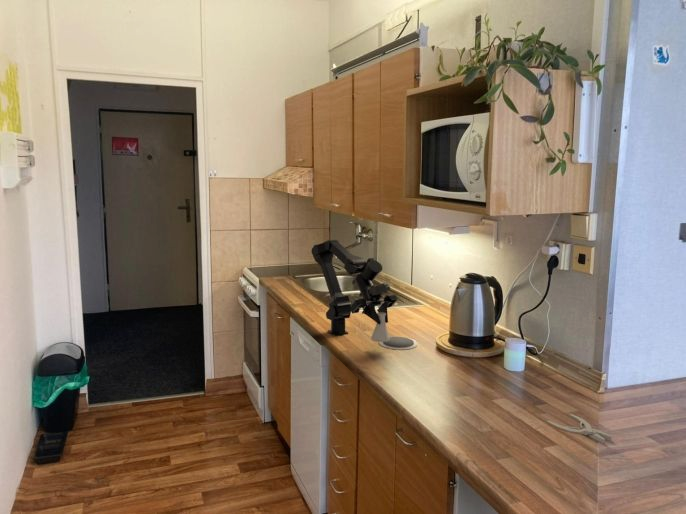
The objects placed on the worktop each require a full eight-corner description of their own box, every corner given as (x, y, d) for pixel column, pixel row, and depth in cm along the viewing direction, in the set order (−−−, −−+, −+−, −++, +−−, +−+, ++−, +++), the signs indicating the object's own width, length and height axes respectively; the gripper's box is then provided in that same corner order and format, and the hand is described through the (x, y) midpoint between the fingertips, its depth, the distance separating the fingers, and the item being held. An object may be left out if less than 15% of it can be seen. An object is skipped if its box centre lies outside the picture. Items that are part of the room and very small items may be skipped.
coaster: (371, 340, 221) (371, 338, 221) (402, 335, 229) (402, 333, 228) (393, 352, 208) (393, 350, 208) (425, 346, 216) (425, 344, 216)
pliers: (572, 410, 158) (620, 433, 145) (571, 416, 158) (619, 439, 145) (547, 418, 153) (595, 442, 140) (546, 423, 153) (594, 448, 140)
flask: (389, 343, 203) (390, 316, 201) (369, 341, 204) (370, 315, 203) (391, 337, 210) (392, 311, 208) (372, 335, 211) (373, 310, 210)
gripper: (355, 278, 201) (373, 315, 194) (395, 273, 211) (413, 308, 204) (342, 294, 209) (359, 331, 202) (382, 289, 219) (399, 323, 212)
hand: (383, 323), depth 205 cm, fingers closed on flask, 3 cm apart
